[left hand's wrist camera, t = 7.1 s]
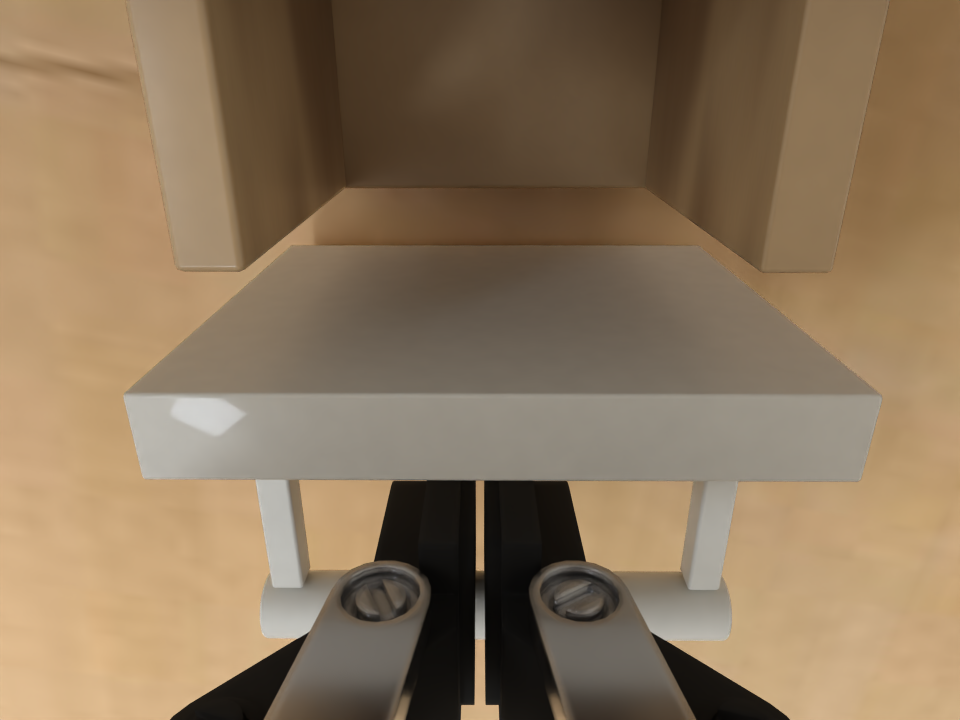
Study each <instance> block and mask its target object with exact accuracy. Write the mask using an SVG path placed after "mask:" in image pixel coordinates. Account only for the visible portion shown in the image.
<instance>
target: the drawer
mask: <svg viewBox="0 0 960 720" xmlns="http://www.w3.org/2000/svg"><path fill="white" fill-rule="evenodd" d="M125 3H126V9H127V14H128V19H129V24H130V30H131V35H132V40H133V45H134V51H135V56H136V61H137V67H138V72H139V77H140V82H141V88H142V93H143V98H144V103H145V109H146V114H147V119H148V125H149V130H150V135H151V140H152V146H153V151H154V156H155V162H156V167H157V172H158V177H159V183H160V188H161V193H162V198H163V204H164V209H165V214H166V220H167V225H168V230H169V235H170V241H171V246H172V251H173V256H174V262H175V266H176V267H177V269H178V270H181V271H185V272H240V271H242V270H244V269H246V268H247V267H248V266H249V265H251V264H252V263H253V262H254V261H256V260H257V259H258V258H259V257H261V256H262V255H263V254H264V253H265V252H267V251H268V250H269V249H270V248H272V247H273V246H274V245H275V244H277V243H278V242H279V241H280V240H281V239H283V238H284V237H285V236H286V235H288V234H289V233H290V232H291V231H293V230H294V229H295V228H296V227H298V226H299V225H300V224H301V223H302V222H304V221H305V220H306V219H307V218H309V217H310V216H311V215H312V214H314V213H315V212H316V211H317V210H318V209H320V208H321V207H322V206H323V205H325V204H326V203H327V202H328V201H330V200H331V199H332V198H333V197H334V196H336V195H337V194H338V193H339V192H341V191H342V190H343V189H344V188H646V189H648V190H649V191H651V192H652V193H653V194H655V195H656V196H657V197H659V198H660V199H662V200H663V201H664V202H666V203H667V204H668V205H670V206H671V207H673V208H674V209H675V210H677V211H678V212H679V213H681V214H682V215H684V216H685V217H686V218H688V219H689V220H690V221H692V222H693V223H695V224H696V225H697V226H699V227H700V228H701V229H703V230H704V231H706V232H707V233H708V234H710V235H711V236H713V237H714V238H715V239H717V240H718V241H719V242H721V243H722V244H724V245H725V246H726V247H728V248H729V249H730V250H732V251H733V252H735V253H736V254H737V255H739V256H740V257H741V258H743V259H744V260H746V261H747V262H748V263H750V264H751V265H752V266H754V267H755V268H757V269H758V270H759V271H761V272H763V273H827V272H831V270H832V268H833V263H834V259H835V254H836V249H837V245H838V240H839V236H840V231H841V226H842V222H843V217H844V212H845V208H846V203H847V198H848V194H849V189H850V184H851V180H852V175H853V170H854V166H855V161H856V156H857V152H858V147H859V142H860V138H861V133H862V128H863V124H864V119H865V114H866V110H867V105H868V100H869V96H870V91H871V86H872V82H873V77H874V72H875V68H876V63H877V58H878V54H879V49H880V44H881V40H882V35H883V31H884V26H885V21H886V17H887V12H888V7H889V3H890V0H125ZM124 402H125V406H126V410H127V414H128V418H129V422H130V427H131V431H132V435H133V439H134V443H135V447H136V451H137V456H138V460H139V464H140V468H141V472H142V476H143V478H144V479H221V480H256V487H257V493H258V499H259V505H260V511H261V518H262V524H263V530H264V536H265V542H266V549H267V555H268V561H269V567H270V574H269V575H268V577H267V579H266V582H265V585H264V588H263V592H262V597H261V604H260V624H261V630H262V633H263V635H264V636H265V637H267V638H300V637H301V636H303V635H305V634H306V633H308V632H310V630H311V628H312V626H313V624H314V622H315V620H316V618H317V616H318V614H319V613H320V611H321V609H322V607H323V605H324V603H325V601H326V599H327V597H328V595H329V593H330V591H331V589H332V588H333V586H334V585H335V584H336V582H337V581H338V580H339V578H340V577H342V576H343V575H344V574H346V573H347V572H349V571H350V570H309V569H310V562H309V554H308V546H307V539H306V531H305V524H304V516H303V508H302V501H301V493H300V485H299V480H507V481H693V488H692V494H691V501H690V508H689V515H688V521H687V528H686V535H685V541H684V548H683V555H682V562H681V568H680V569H681V572H616V571H611V572H613V573H614V574H616V575H617V576H618V577H620V578H621V580H622V581H623V582H624V584H625V585H626V586H627V588H628V590H629V591H630V593H631V595H632V597H633V599H634V601H635V603H636V605H637V607H638V609H639V611H640V613H641V614H642V616H643V618H644V620H645V622H646V624H647V626H648V628H649V630H650V632H652V633H654V634H655V635H657V636H659V637H660V638H662V639H664V640H674V641H724V640H726V639H727V638H728V637H729V635H730V631H731V625H732V608H731V601H730V596H729V592H728V588H727V585H726V583H725V581H724V579H723V577H722V576H721V575H722V569H723V564H724V558H725V553H726V547H727V542H728V536H729V531H730V525H731V520H732V514H733V508H734V503H735V497H736V492H737V486H738V481H792V482H858V481H860V480H861V477H862V474H863V470H864V466H865V462H866V459H867V455H868V451H869V447H870V444H871V440H872V436H873V432H874V429H875V425H876V421H877V417H878V414H879V410H880V406H881V402H882V395H881V394H880V393H879V392H877V391H876V390H875V389H874V388H873V387H871V386H870V385H869V384H868V383H866V382H865V381H864V380H863V379H861V378H860V377H859V376H858V375H857V374H855V373H854V372H853V371H852V370H850V369H849V368H848V367H847V366H846V365H844V364H843V363H842V362H841V361H839V360H838V359H837V358H836V357H835V356H833V355H832V354H831V353H830V352H828V351H827V350H826V349H825V348H824V347H822V346H821V345H820V344H819V343H817V342H816V341H815V340H814V339H812V338H811V337H810V336H809V335H808V334H806V333H805V332H804V331H803V330H801V329H800V328H799V327H798V326H797V325H795V324H794V323H793V322H792V321H790V320H789V319H788V318H787V317H786V316H784V315H783V314H782V313H781V312H779V311H778V310H777V309H776V308H775V307H773V306H772V305H771V304H770V303H768V302H767V301H766V300H765V299H763V298H762V297H761V296H760V295H759V294H757V293H756V292H755V291H754V290H752V289H751V288H750V287H749V286H748V285H746V284H745V283H744V282H743V281H741V280H740V279H739V278H738V277H737V276H735V275H734V274H733V273H732V272H730V271H729V270H728V269H727V268H726V267H724V266H723V265H722V264H721V263H719V262H718V261H717V260H716V259H714V258H713V257H712V256H711V255H710V254H708V253H707V252H706V251H705V250H703V249H702V248H701V247H700V246H611V245H292V246H290V247H289V248H288V249H287V250H286V251H285V252H283V253H282V254H281V255H280V256H279V257H278V258H277V259H276V260H274V261H273V262H272V263H271V264H270V265H269V266H268V267H266V268H265V269H264V270H263V271H262V272H261V273H260V274H259V275H257V276H256V277H255V278H254V279H253V280H252V281H251V282H250V283H248V284H247V285H246V286H245V287H244V288H243V289H242V290H240V291H239V292H238V293H237V294H236V295H235V296H234V297H233V298H231V299H230V300H229V301H228V302H227V303H226V304H225V305H223V306H222V307H221V308H220V309H219V310H218V311H217V312H216V313H214V314H213V315H212V316H211V317H210V318H209V319H208V320H206V321H205V322H204V323H203V324H202V325H201V326H200V327H199V328H197V329H196V330H195V331H194V332H193V333H192V334H191V335H190V336H188V337H187V338H186V339H185V340H184V341H183V342H182V343H180V344H179V345H178V346H177V347H176V348H175V349H174V350H173V351H171V352H170V353H169V354H168V355H167V356H166V357H165V358H163V359H162V360H161V361H160V362H159V363H158V364H157V365H156V366H154V367H153V368H152V369H151V370H150V371H149V372H148V373H147V374H145V375H144V376H143V377H142V378H141V379H140V380H139V381H137V382H136V383H135V384H134V385H133V386H132V387H131V388H130V389H128V390H127V391H126V392H125V393H124ZM475 639H485V588H484V571H476V587H475Z"/></svg>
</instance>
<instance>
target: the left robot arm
mask: <svg viewBox="0 0 960 720" xmlns="http://www.w3.org/2000/svg"><path fill="white" fill-rule="evenodd" d="M475 587H476V480H427V481H393V482H392V485H391V489H390V494H389V498H388V503H387V507H386V511H385V516H384V520H383V524H382V529H381V533H380V538H379V542H378V546H377V551H376V555H375V559H374V562H371V563H366V564H363V565H361V566H358V567H356V568H354V569H351V570H350V571H349V572H347V573H346V574H344V575H343V576H342V577H340V578H339V580H338V581H337V582H336V584H335V585H334V586H333V588H332V589H331V591H330V593H329V595H328V597H327V599H326V601H325V603H324V605H323V607H322V609H321V611H320V613H319V614H318V616H317V618H316V620H315V622H314V624H313V626H312V628H311V630H310V632H308V633H306V634H305V635H303V636H301V637H300V638H298V639H296V640H295V641H293V642H291V643H290V644H288V645H286V646H285V647H283V648H281V649H280V650H278V651H276V652H275V653H273V654H271V655H270V656H268V657H267V658H265V659H263V660H262V661H260V662H258V663H257V664H255V665H253V666H252V667H250V668H248V669H247V670H245V671H243V672H242V673H240V674H238V675H237V676H235V677H233V678H232V679H230V680H228V681H227V682H225V683H223V684H222V685H220V686H218V687H217V688H215V689H214V690H212V691H210V692H209V693H207V694H205V695H204V696H202V697H200V698H199V699H197V700H195V701H194V702H192V703H190V704H189V705H188V706H186V707H185V708H184V709H182V710H181V711H180V712H178V713H177V714H176V715H174V716H173V717H172V718H171V719H170V720H461V705H474V696H475ZM484 588H485V696H486V705H499V720H790V719H789V718H788V717H787V716H786V715H784V714H783V713H782V712H780V711H779V710H778V709H776V708H775V707H774V706H772V705H771V704H770V703H768V702H766V701H765V700H763V699H761V698H760V697H758V696H756V695H755V694H753V693H751V692H750V691H748V690H746V689H745V688H743V687H742V686H740V685H738V684H737V683H735V682H733V681H732V680H730V679H728V678H727V677H725V676H723V675H722V674H720V673H718V672H717V671H715V670H713V669H712V668H710V667H708V666H707V665H705V664H703V663H702V662H700V661H698V660H697V659H695V658H693V657H692V656H690V655H688V654H687V653H685V652H684V651H682V650H680V649H679V648H677V647H675V646H674V645H672V644H670V643H669V642H667V641H665V640H664V639H662V638H660V637H659V636H657V635H655V634H654V633H652V632H650V630H649V628H648V626H647V624H646V622H645V620H644V618H643V616H642V614H641V613H640V611H639V609H638V607H637V605H636V603H635V601H634V599H633V597H632V595H631V593H630V591H629V590H628V588H627V586H626V585H625V584H624V582H623V581H622V580H621V578H620V577H618V576H617V575H616V574H614V573H613V572H611V571H610V570H609V569H606V568H604V567H602V566H599V565H597V564H594V563H589V562H586V559H585V555H584V551H583V546H582V542H581V538H580V533H579V529H578V525H577V520H576V516H575V511H574V507H573V503H572V498H571V494H570V490H569V485H568V482H567V481H507V480H484Z"/></svg>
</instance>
